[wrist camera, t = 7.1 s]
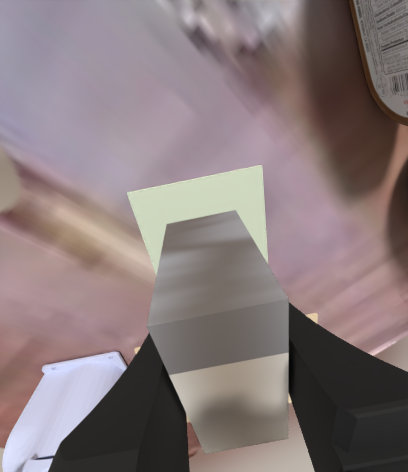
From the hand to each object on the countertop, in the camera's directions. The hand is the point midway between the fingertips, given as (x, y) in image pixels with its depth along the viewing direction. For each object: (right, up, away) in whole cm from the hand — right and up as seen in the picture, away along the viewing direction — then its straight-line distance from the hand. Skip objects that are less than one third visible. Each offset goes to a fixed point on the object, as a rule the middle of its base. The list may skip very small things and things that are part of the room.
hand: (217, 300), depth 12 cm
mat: (-1, +4, +8) cm, 9 cm away
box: (0, +1, +2) cm, 3 cm away
